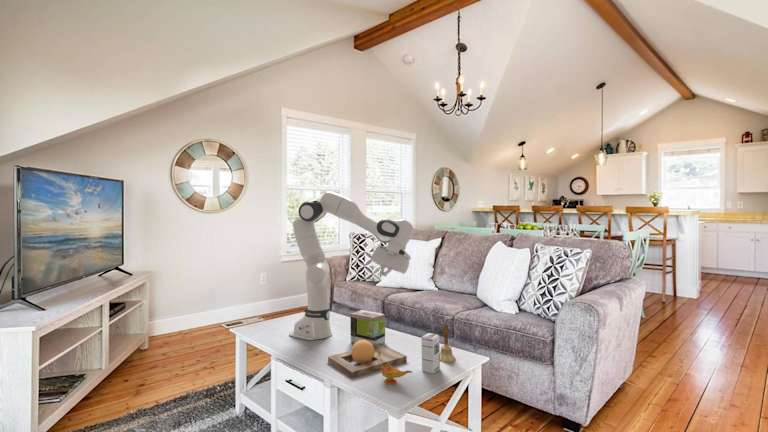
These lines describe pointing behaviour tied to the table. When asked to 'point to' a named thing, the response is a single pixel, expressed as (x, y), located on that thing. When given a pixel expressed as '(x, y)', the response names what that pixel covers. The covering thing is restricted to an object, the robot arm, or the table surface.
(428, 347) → the syrup box
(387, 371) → the magic lamp
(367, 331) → the tea box
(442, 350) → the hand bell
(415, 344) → the table surface
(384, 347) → the wooden board with hole
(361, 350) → the ball
